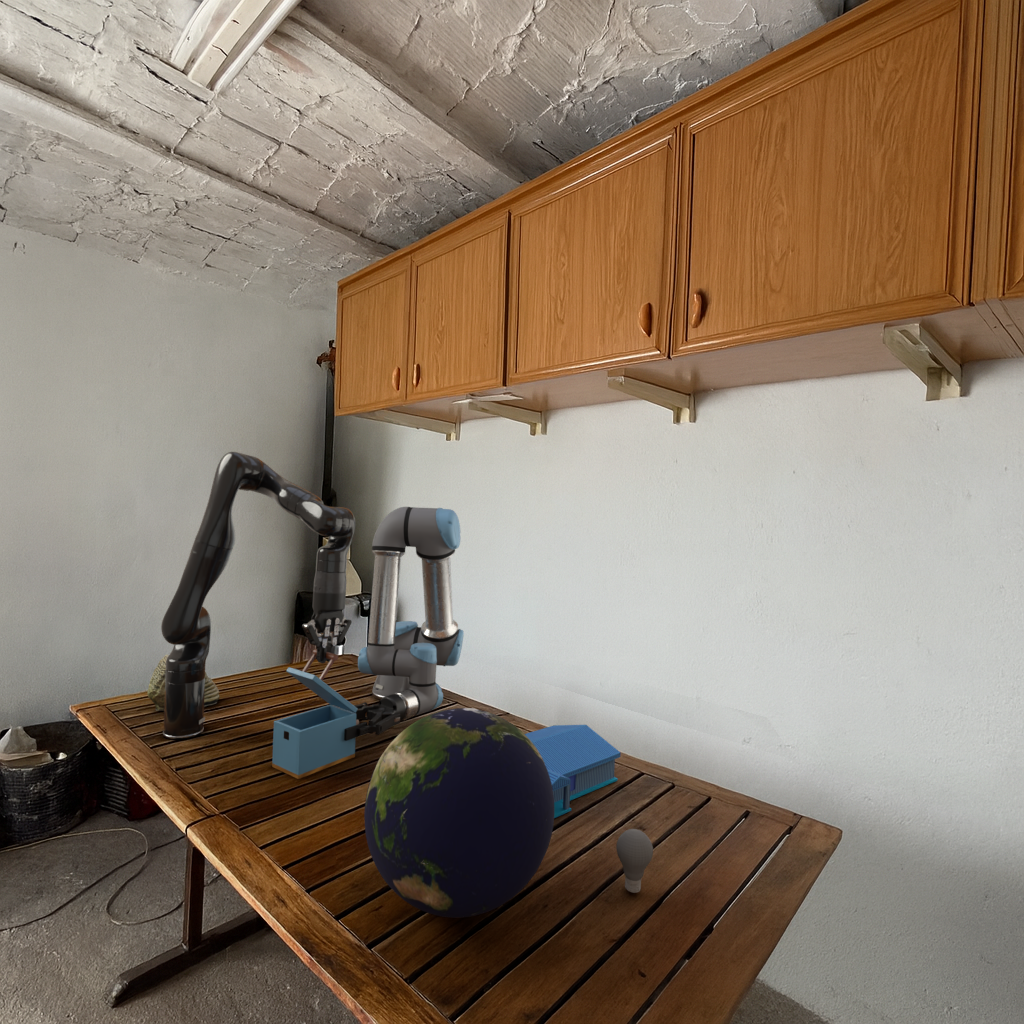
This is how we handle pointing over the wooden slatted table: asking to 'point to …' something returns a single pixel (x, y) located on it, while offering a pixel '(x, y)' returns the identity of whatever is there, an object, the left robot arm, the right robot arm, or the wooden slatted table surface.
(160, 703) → the fossil
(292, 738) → the chest
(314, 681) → the lid
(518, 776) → the globe
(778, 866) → the wooden slatted table surface
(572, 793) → the model building
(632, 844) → the light bulb
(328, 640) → the left robot arm
